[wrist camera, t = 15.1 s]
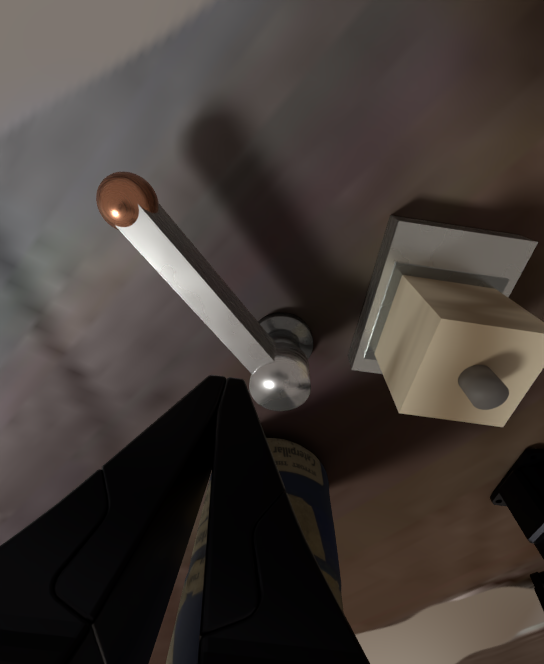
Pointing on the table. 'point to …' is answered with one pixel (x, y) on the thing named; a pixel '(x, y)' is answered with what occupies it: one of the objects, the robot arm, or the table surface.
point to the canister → (316, 523)
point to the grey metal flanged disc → (289, 330)
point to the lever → (204, 291)
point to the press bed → (433, 270)
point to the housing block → (458, 351)
